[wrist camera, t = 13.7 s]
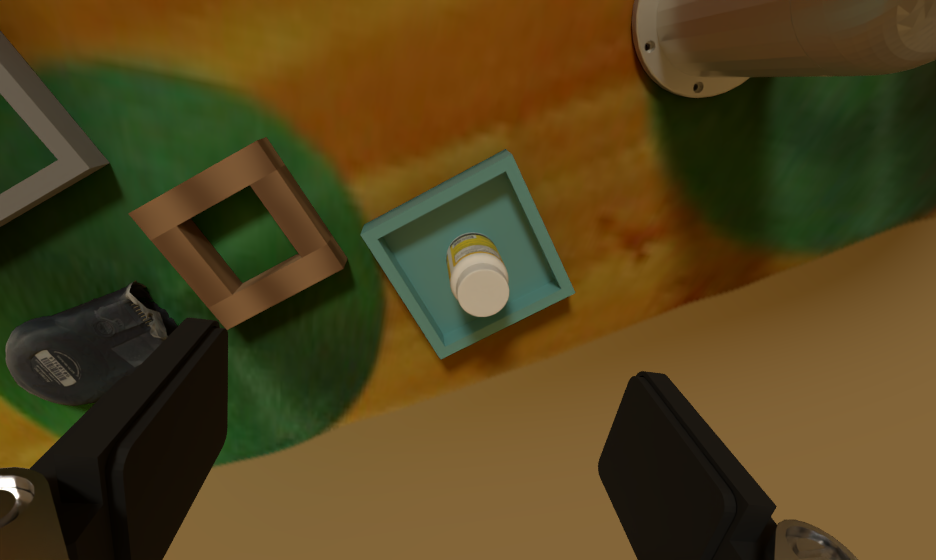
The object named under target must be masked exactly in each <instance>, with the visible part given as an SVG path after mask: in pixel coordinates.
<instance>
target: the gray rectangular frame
mask: <svg viewBox="0 0 936 560" xmlns="http://www.w3.org/2000/svg"><path fill="white" fill-rule="evenodd" d="M0 93H1V95H2V96H3V97H4V98H5V99H6V100H7V102H8V103H9V104H10V105H11V106H12V107H13V108H14V110H15V111H16V112H17V113H18V114H19V115H20V116H21V118H22V119H23V120H24V121H25V122H26V123H27V124H28V126H29V127H30V128H31V129H32V130H33V131H34V133H35V134H36V135H37V136H38V137H39V138H40V139H41V141H42V142H43V143H44V144H45V145H46V146H47V147H48V149H49V150H50V151H51V152H52V153H53V154H54V155H55V157H56V158H57V159H58V160H57V161H56V162H54V163H52V164H51V165H49V166H47V167H46V168H44V169H42V170H40V171H39V172H37V173H35V174H34V175H32V176H30V177H29V178H27V179H25V180H24V181H22V182H20V183H19V184H17V185H15V186H13V187H12V188H10V189H8V190H7V191H5V192H3V193H2V194H0V227H1V226H3V225H5V224H6V223H8V222H10V221H11V220H13V219H15V218H17V217H18V216H20V215H22V214H23V213H25V212H27V211H29V210H30V209H32V208H34V207H35V206H37V205H39V204H40V203H42V202H44V201H46V200H47V199H49V198H51V197H52V196H54V195H56V194H58V193H59V192H61V191H63V190H64V189H66V188H68V187H70V186H71V185H73V184H75V183H76V182H78V181H80V180H82V179H83V178H85V177H87V176H88V175H90V174H92V173H94V172H95V171H97V170H99V169H100V168H102V167H104V166H105V165H107V164H109V162H108V160H107V159H106V158H105V157H104V156H103V154H102V153H101V152H100V151H99V150H98V148H97V147H96V146H95V145H94V144H93V142H92V141H91V140H90V139H89V137H88V136H87V135H86V134H85V133H84V131H83V130H82V129H81V128H80V127H79V125H78V124H77V123H76V122H75V121H74V119H73V118H72V117H71V116H70V115H69V113H68V112H67V111H66V110H65V108H64V107H63V106H62V105H61V104H60V102H59V101H58V100H57V99H56V98H55V96H54V95H53V94H52V93H51V92H50V90H49V89H48V88H47V87H46V85H45V84H44V83H43V82H42V81H41V79H40V78H39V77H38V76H37V75H36V73H35V72H34V71H33V70H32V69H31V67H30V66H29V65H28V64H27V62H26V61H25V60H24V59H23V58H22V56H21V55H20V54H19V53H18V52H17V50H16V49H15V48H14V47H13V46H12V44H11V43H10V42H9V41H8V40H7V38H6V37H5V36H4V35H3V33H2V32H1V31H0Z"/></svg>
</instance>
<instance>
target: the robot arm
mask: <svg viewBox="0 0 936 560" xmlns="http://www.w3.org/2000/svg"><path fill="white" fill-rule="evenodd" d="M632 33H633V42H634V46H635V50H636V53H637V57H638V59H639V61H640V63H641V65H642V67H643V69H644V70H645V72H646V73H647V74H648V75H649V77H650V78H651V79H652V80H653V81H654V82H655V83H656V84H658V85H659V86H660V87H661V88H663V89H665V90H667V91H669V92H671V93H673V94H675V95H680V96H684V97H692V98H702V97H712V96H716V95H719V94H722V93H725V92H728V91H730V90H732V89H734V88H735V87H737V86H739V85H741V84H742V83H744V82H745V81H746V80H748V79H749V78H750V77H809V76H863V75H883V74H891V73H897V72H901V71H905V70H909V69H912V68H916V67H918V66H921V65H924V64H926V63H929V62H931V61H933V60H936V0H635V2H634V6H633V15H632ZM645 44H647V46H648V48H647V50H646V51H645ZM694 85H695V89H694V90H693V87H694ZM227 403H228V332H227V330H226V329H224V328H220V326H219V323H218V322H217V321H213V320H205V319H197V318H186V319H185V320H184V321H183V322H182V323H181V324H180V325H179V326H178V327H177V328H176V329H175V330H174V331H173V332H172V333H171V334H170V335H169V336H168V337H167V338H166V339H165V340H164V341H163V342H162V343H161V344H160V345H159V346H158V347H157V348H156V350H155V351H154V352H153V353H152V354H151V355H150V356H149V357H148V358H147V359H146V360H145V361H144V362H143V363H142V364H141V365H140V366H139V367H138V368H137V369H136V370H135V371H134V372H133V373H132V374H131V375H126V376H123V377H122V378H121V379H119V380H118V381H117V382H116V383H115V384H114V385H113V386H112V387H111V388H110V389H109V390H108V391H107V392H106V393H105V394H104V395H103V396H102V397H101V398H100V399H99V400H98V401H97V402H96V403H95V404H94V405H93V406H92V407H91V408H90V409H89V410H88V411H87V412H86V413H85V414H84V415H83V416H82V417H81V418H80V419H79V420H78V421H77V422H76V423H75V424H74V425H73V426H72V427H71V428H70V429H69V430H68V431H67V432H66V433H65V434H64V435H63V436H62V437H61V438H60V439H59V440H58V441H57V442H56V443H55V444H54V445H53V446H52V447H51V448H50V449H49V450H48V451H47V452H46V453H45V454H44V455H43V456H42V457H41V458H40V459H39V460H38V461H37V462H36V463H35V464H34V465H33V466H32V467H31V468H30V469H25V468H18V467H12V468H0V560H162V559H163V558H164V556H165V554H166V552H167V550H168V548H169V546H170V544H171V543H172V541H173V539H174V537H175V535H176V533H177V531H178V530H179V528H180V526H181V524H182V522H183V520H184V518H185V517H186V515H187V513H188V511H189V509H190V507H191V505H192V503H193V502H194V500H195V498H196V496H197V494H198V492H199V490H200V488H201V487H202V485H203V483H204V481H205V479H206V477H207V475H208V473H209V472H210V470H211V468H212V466H213V464H214V462H215V460H216V459H217V457H218V455H219V453H220V451H221V449H222V447H223V445H224V442H225V439H226V435H227ZM598 471H599V475H600V478H601V480H602V483H603V485H604V487H605V489H606V491H607V493H608V496H609V498H610V500H611V502H612V504H613V507H614V509H615V511H616V513H617V515H618V517H619V519H620V522H621V524H622V526H623V528H624V531H625V532H626V535H627V537H628V539H629V542H630V544H631V546H632V548H633V550H634V552H635V555H636V557H637V559H638V560H858V559H857V558H856V557H855V556H854V555H853V554H852V553H851V552H850V551H849V550H848V549H847V548H846V547H845V546H844V545H843V544H841V543H840V542H839V541H838V540H836V539H835V538H834V537H833V536H831V535H829V534H828V533H826V532H824V531H822V530H821V529H819V528H817V527H815V526H813V525H810V524H808V523H805V522H802V521H798V520H784V521H782V522H780V523H778V525H777V524H776V523H775V522H774V520H773V519H772V518H771V515H772V514H773V512H774V510H775V509H776V505H775V504H774V503H773V502H772V500H771V499H770V498H769V497H768V496H767V495H766V493H765V492H764V491H763V490H762V489H761V487H760V486H759V485H758V484H757V483H756V481H755V480H754V479H753V478H752V476H751V475H750V474H749V473H748V472H747V471H746V469H745V468H744V467H743V466H742V465H741V463H740V462H739V461H738V460H737V459H736V457H735V456H734V455H733V454H732V453H731V451H730V450H729V449H728V448H727V447H726V446H725V445H724V443H723V442H722V441H721V440H720V438H719V437H718V436H717V435H716V434H715V433H714V432H713V430H712V429H711V428H710V427H709V425H708V424H707V423H706V422H705V421H704V419H703V418H702V417H701V416H700V415H699V414H698V412H697V411H696V410H695V409H694V407H693V406H692V405H691V404H690V403H689V402H688V400H687V399H686V398H685V397H684V396H683V394H682V393H681V392H680V391H679V390H678V388H677V387H676V386H675V385H674V384H673V383H672V381H671V380H670V379H669V378H668V377H667V376H666V375H665V374H661V373H653V372H644V371H641V372H639V373H638V374H637V375H636V376H633V377H631V379H630V380H629V382H628V385H627V388H626V390H625V393H624V395H623V398H622V401H621V403H620V406H619V409H618V411H617V414H616V417H615V419H614V422H613V424H612V427H611V430H610V432H609V435H608V438H607V440H606V443H605V446H604V448H603V451H602V454H601V457H600V459H599V463H598Z"/></svg>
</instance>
